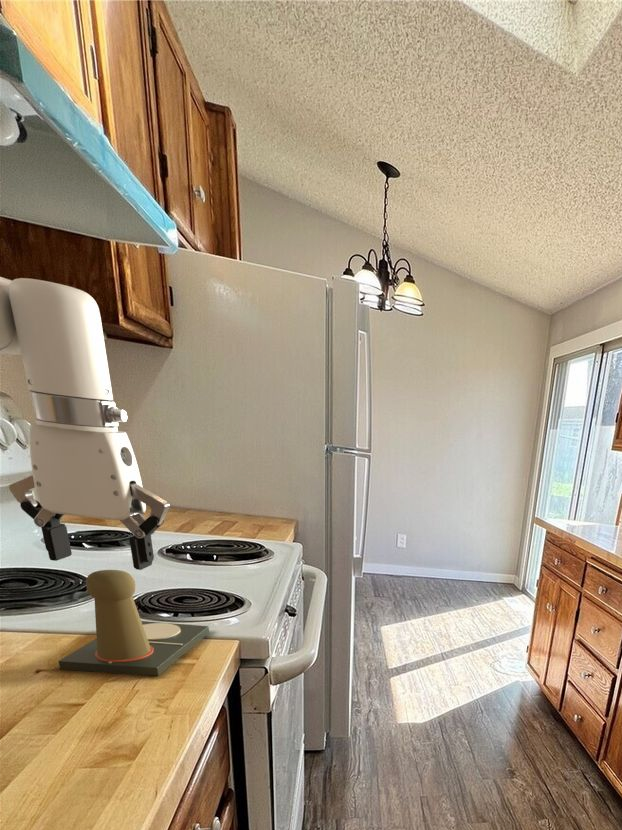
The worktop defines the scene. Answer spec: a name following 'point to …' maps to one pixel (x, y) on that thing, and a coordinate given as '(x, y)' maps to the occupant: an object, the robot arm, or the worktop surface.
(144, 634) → the cork
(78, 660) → the board
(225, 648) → the worktop surface
